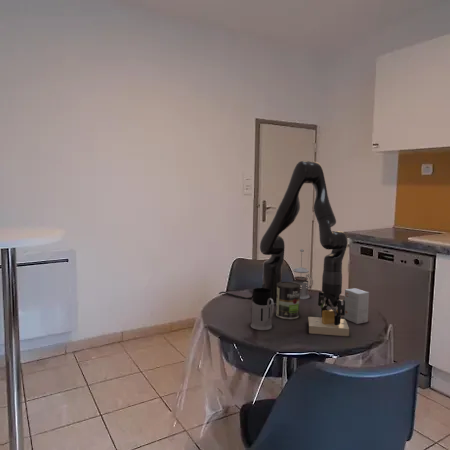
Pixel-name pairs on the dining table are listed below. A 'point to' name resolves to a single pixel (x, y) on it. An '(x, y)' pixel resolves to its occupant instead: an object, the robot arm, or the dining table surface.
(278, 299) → the coffee can
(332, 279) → the robot arm
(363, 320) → the small box
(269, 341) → the dining table surface
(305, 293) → the french press
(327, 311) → the tan rectangular block
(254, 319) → the glass holder
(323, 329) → the base
